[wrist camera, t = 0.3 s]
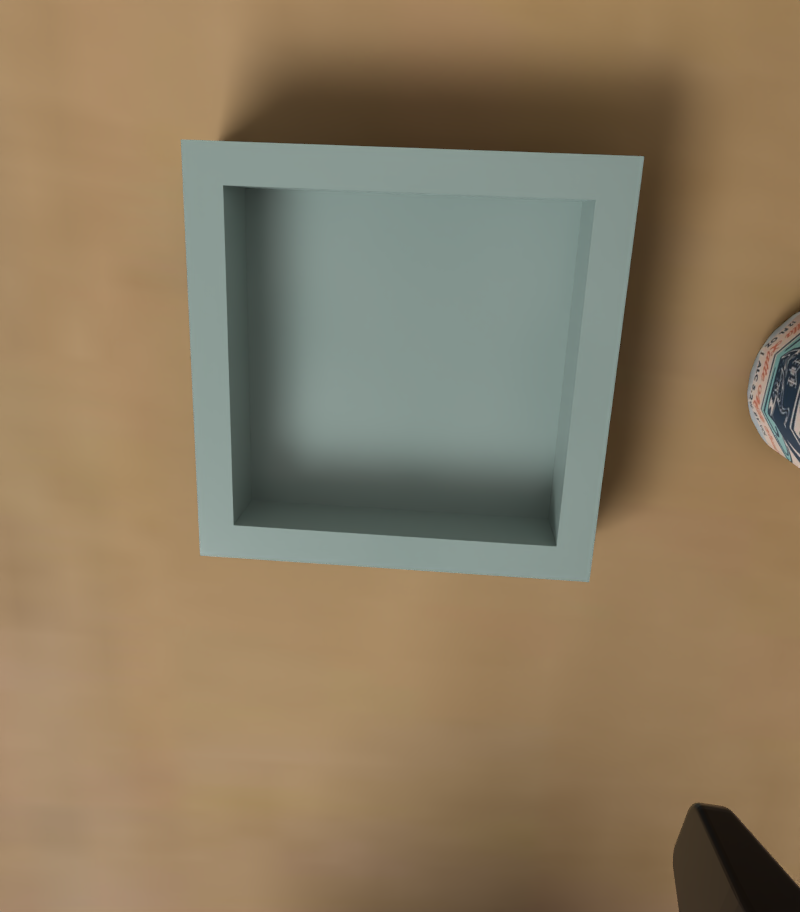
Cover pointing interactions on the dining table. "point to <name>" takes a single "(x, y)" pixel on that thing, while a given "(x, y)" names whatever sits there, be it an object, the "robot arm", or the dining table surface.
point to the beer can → (778, 390)
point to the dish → (405, 352)
